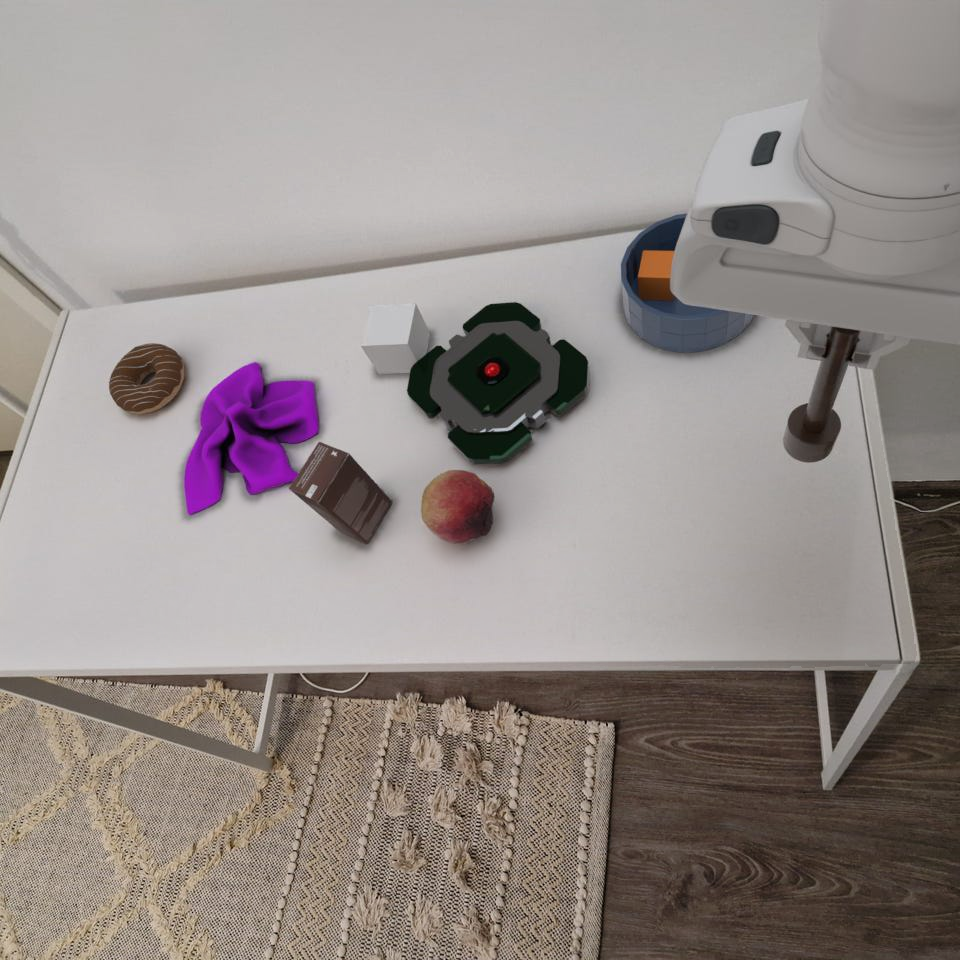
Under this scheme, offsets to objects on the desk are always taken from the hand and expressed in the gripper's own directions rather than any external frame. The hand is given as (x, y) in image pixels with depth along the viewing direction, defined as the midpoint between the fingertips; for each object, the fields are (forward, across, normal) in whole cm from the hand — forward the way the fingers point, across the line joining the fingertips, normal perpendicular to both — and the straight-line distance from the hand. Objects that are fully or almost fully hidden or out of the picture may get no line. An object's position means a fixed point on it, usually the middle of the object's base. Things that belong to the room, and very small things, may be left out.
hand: (836, 355), depth 44 cm
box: (+28, +42, +12) cm, 52 cm away
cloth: (+28, +62, +7) cm, 69 cm away
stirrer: (+12, 0, 0) cm, 12 cm away
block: (+28, +20, -26) cm, 43 cm away
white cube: (+28, +48, -10) cm, 56 cm away
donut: (+28, +82, +3) cm, 86 cm away
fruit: (+28, +30, +9) cm, 43 cm away
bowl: (+28, +16, -25) cm, 41 cm away
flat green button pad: (+28, +34, -8) cm, 45 cm away
